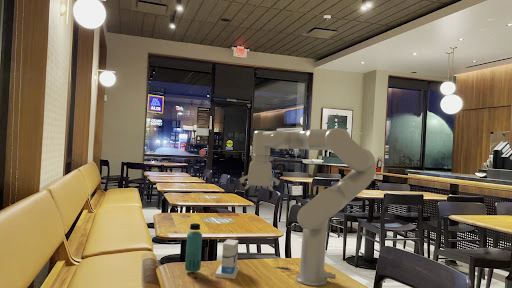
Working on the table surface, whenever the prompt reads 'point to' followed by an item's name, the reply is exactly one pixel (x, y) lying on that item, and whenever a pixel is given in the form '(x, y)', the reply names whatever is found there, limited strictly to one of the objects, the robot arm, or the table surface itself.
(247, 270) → the table surface
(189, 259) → the beverage bottle
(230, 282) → the table surface
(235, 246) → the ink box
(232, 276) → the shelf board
